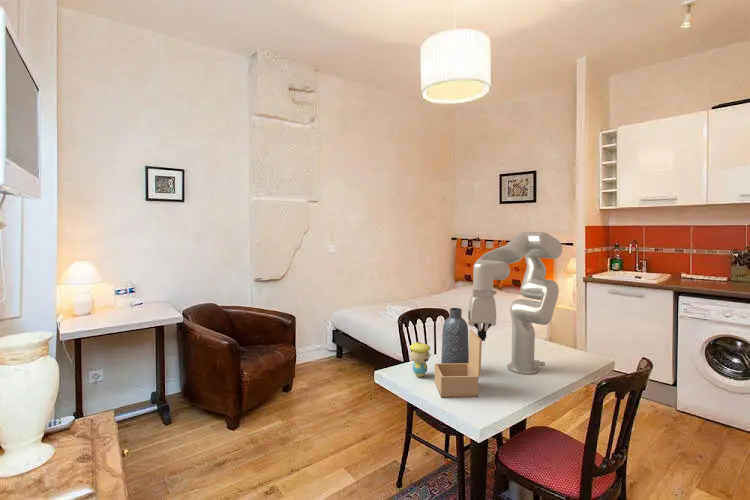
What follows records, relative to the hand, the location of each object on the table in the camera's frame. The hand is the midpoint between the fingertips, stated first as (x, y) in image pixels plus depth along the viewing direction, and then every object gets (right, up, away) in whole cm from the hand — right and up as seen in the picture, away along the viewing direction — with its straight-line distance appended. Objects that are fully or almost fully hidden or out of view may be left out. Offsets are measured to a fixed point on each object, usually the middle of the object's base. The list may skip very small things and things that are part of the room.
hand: (481, 340), depth 154 cm
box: (-10, -20, +1) cm, 22 cm away
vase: (-7, -19, +19) cm, 28 cm away
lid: (-3, -5, 0) cm, 6 cm away
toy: (-22, -19, +15) cm, 33 cm away
